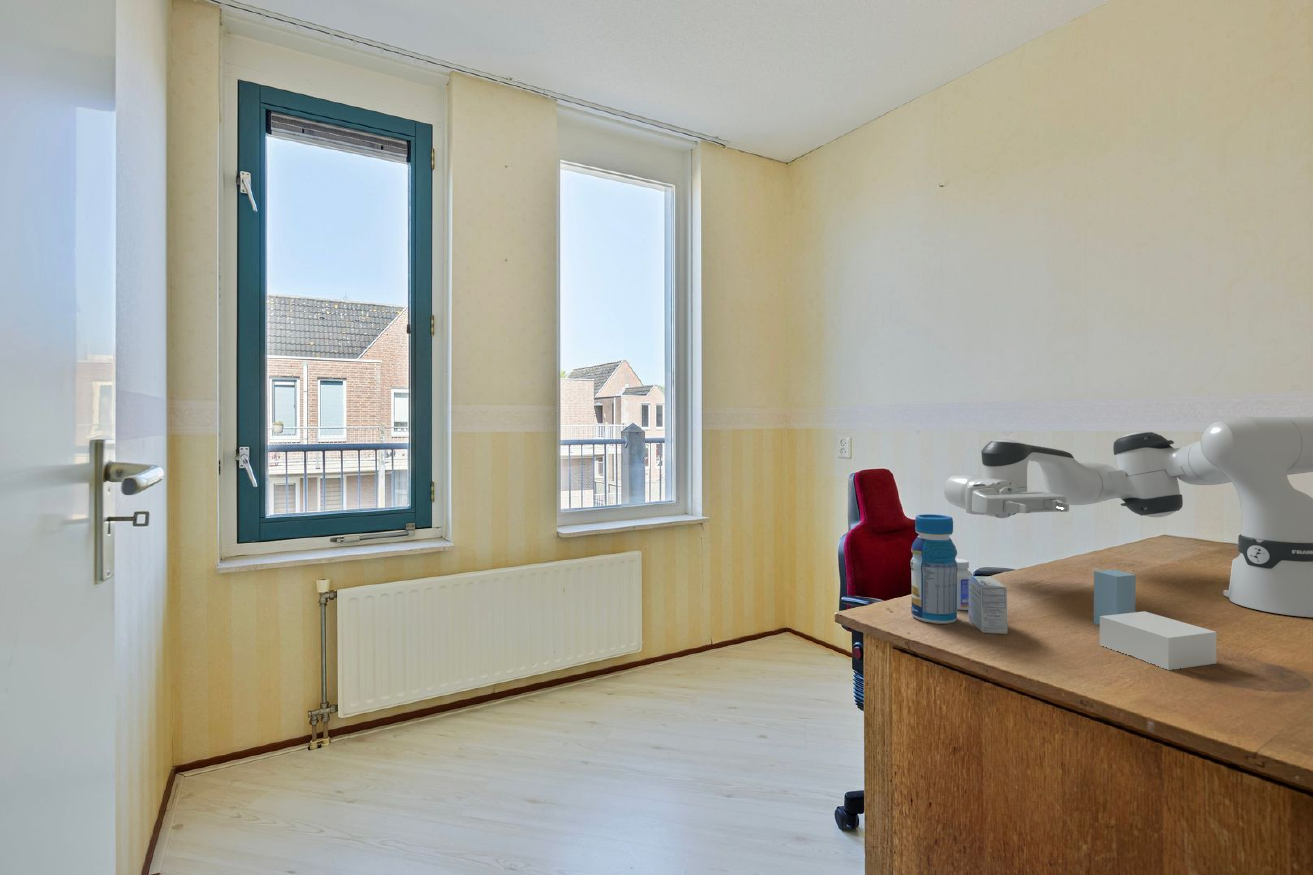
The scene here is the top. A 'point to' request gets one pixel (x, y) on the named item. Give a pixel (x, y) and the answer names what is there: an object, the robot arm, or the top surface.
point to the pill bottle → (963, 584)
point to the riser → (1159, 640)
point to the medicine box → (988, 604)
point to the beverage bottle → (934, 570)
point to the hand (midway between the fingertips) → (1047, 508)
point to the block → (1113, 593)
